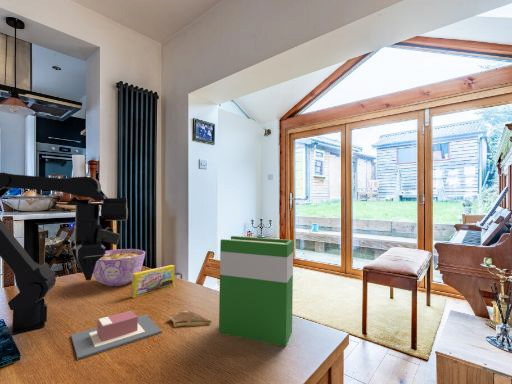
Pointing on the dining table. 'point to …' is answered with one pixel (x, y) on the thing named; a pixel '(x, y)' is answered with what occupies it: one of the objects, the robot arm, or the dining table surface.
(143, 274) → the candy box
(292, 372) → the dining table surface
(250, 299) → the green cereal box
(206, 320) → the shard
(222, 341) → the dining table surface
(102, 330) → the pink and white block
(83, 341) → the mat
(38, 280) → the robot arm
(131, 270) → the bowl of food
